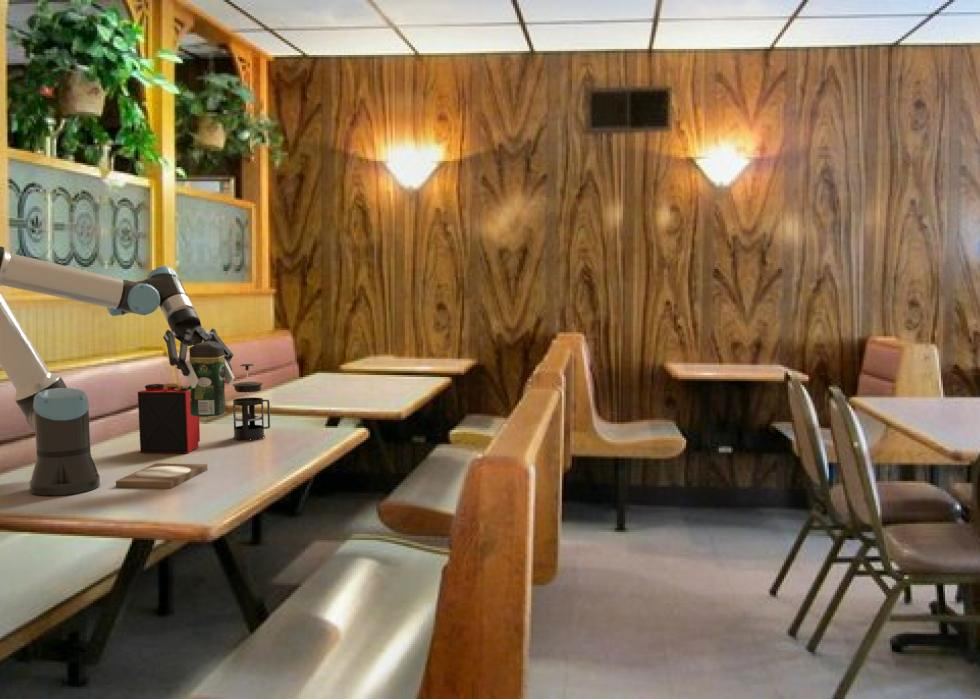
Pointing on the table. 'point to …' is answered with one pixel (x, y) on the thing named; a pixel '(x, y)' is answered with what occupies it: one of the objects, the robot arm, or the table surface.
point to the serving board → (161, 475)
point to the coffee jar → (207, 379)
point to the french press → (249, 411)
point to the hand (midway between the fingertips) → (213, 383)
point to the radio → (167, 419)
